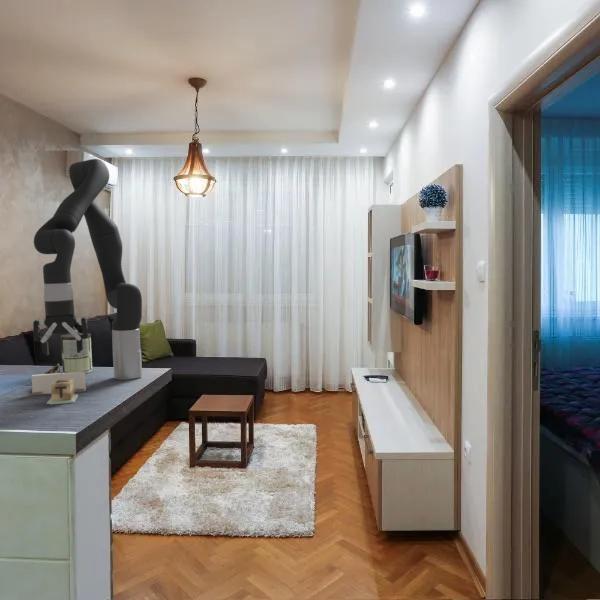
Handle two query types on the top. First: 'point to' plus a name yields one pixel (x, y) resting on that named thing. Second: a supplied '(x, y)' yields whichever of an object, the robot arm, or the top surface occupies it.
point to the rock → (53, 370)
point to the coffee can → (76, 354)
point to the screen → (44, 381)
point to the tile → (63, 400)
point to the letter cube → (62, 390)
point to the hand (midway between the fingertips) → (63, 353)
